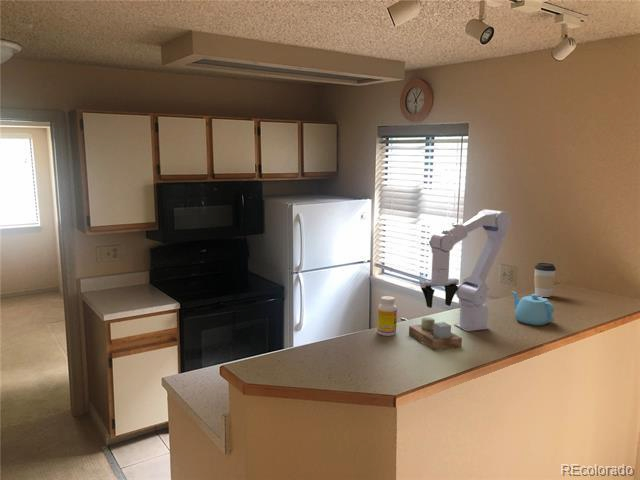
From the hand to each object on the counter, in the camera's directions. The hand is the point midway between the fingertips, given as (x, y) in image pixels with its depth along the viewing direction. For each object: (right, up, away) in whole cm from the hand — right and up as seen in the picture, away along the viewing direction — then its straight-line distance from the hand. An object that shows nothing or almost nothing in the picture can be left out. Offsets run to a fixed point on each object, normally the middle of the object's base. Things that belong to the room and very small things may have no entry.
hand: (438, 306), depth 178 cm
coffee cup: (+60, -3, +54) cm, 81 cm away
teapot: (+39, -8, +17) cm, 43 cm away
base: (-3, -11, -5) cm, 12 cm away
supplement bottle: (-18, -10, +1) cm, 21 cm away
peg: (-1, -12, -10) cm, 15 cm away
